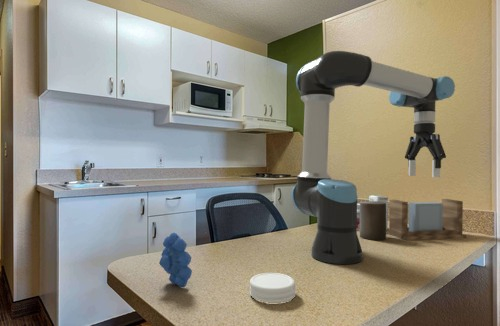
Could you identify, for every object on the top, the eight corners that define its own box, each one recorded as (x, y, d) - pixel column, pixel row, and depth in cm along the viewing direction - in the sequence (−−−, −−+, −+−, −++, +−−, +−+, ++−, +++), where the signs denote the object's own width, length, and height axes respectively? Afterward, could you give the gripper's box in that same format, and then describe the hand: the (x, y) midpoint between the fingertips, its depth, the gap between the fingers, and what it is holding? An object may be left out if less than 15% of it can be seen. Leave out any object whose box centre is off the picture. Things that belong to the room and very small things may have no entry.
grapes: (148, 282, 76) (148, 232, 76) (173, 275, 80) (173, 228, 80) (170, 298, 67) (171, 241, 67) (198, 289, 72) (198, 236, 72)
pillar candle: (389, 241, 117) (389, 200, 117) (361, 239, 119) (362, 199, 119) (382, 235, 127) (382, 198, 127) (357, 234, 128) (357, 197, 128)
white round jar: (278, 283, 76) (278, 269, 76) (304, 299, 67) (304, 283, 67) (241, 291, 71) (241, 276, 71) (264, 310, 62) (264, 292, 62)
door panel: (415, 234, 124) (415, 203, 124) (408, 232, 128) (408, 202, 128) (442, 233, 126) (442, 203, 126) (434, 231, 130) (435, 202, 130)
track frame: (405, 240, 119) (405, 202, 119) (386, 233, 130) (386, 199, 130) (466, 237, 123) (466, 201, 123) (443, 231, 135) (443, 198, 135)
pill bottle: (356, 227, 141) (356, 202, 141) (369, 229, 137) (369, 204, 137) (348, 229, 137) (348, 203, 137) (361, 231, 133) (361, 205, 133)
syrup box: (368, 228, 140) (368, 195, 140) (379, 227, 142) (379, 195, 142) (376, 230, 135) (377, 196, 135) (388, 229, 137) (388, 196, 137)
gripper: (457, 119, 115) (456, 178, 115) (412, 127, 139) (411, 175, 139) (439, 118, 114) (438, 177, 114) (396, 126, 138) (395, 175, 138)
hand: (423, 176), depth 126 cm, fingers open, 13 cm apart
